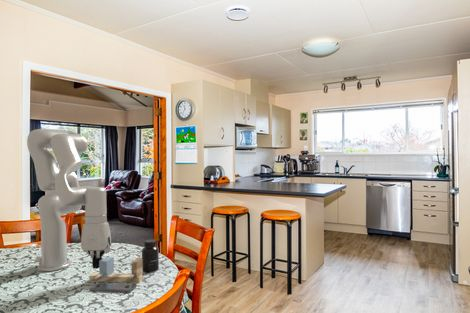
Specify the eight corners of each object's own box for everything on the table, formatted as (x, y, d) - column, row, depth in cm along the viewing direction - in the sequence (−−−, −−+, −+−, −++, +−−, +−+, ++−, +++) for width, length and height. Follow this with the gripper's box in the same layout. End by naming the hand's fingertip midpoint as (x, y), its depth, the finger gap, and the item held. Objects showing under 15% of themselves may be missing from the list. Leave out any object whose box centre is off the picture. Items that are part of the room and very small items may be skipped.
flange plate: (89, 291, 111) (89, 287, 111) (97, 285, 116) (97, 282, 116) (130, 292, 109) (130, 289, 109) (136, 286, 114) (136, 283, 114)
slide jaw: (91, 281, 113) (91, 265, 113) (106, 271, 123) (106, 256, 123) (99, 282, 113) (99, 266, 113) (113, 272, 123) (113, 257, 123)
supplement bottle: (154, 273, 127) (153, 243, 127) (138, 272, 128) (138, 242, 128) (161, 267, 134) (161, 239, 134) (146, 266, 135) (146, 238, 135)
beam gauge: (79, 287, 114) (79, 265, 114) (95, 276, 124) (95, 256, 124) (132, 289, 111) (131, 267, 111) (143, 278, 121) (143, 257, 121)
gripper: (72, 221, 119) (73, 270, 118) (109, 221, 116) (110, 271, 116) (84, 217, 126) (85, 263, 126) (119, 217, 124) (120, 264, 124)
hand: (97, 267), depth 121 cm, fingers closed
